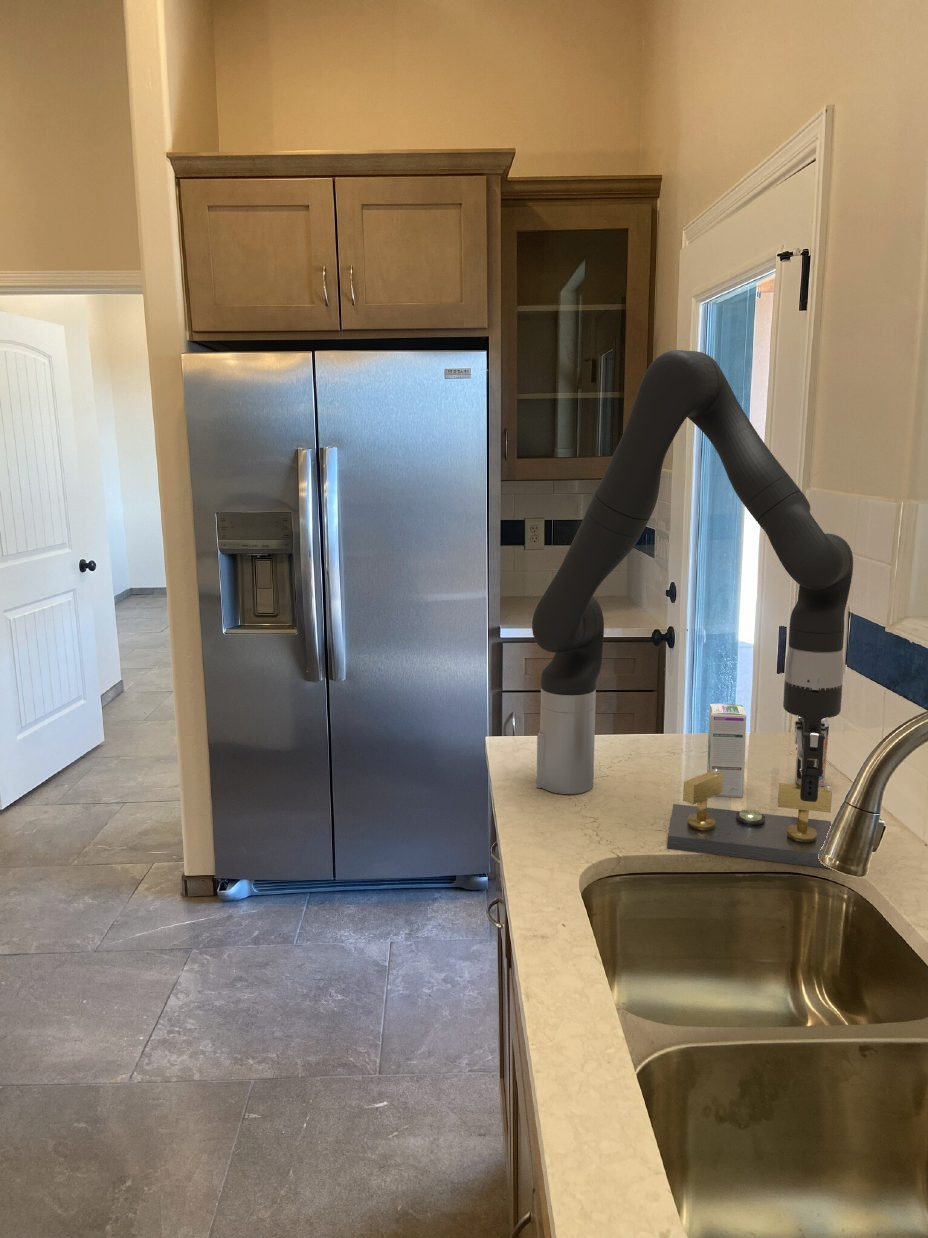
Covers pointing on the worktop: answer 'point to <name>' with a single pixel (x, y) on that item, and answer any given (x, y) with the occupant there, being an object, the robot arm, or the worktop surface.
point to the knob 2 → (803, 809)
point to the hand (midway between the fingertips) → (806, 789)
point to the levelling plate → (746, 836)
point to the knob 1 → (702, 797)
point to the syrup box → (727, 746)
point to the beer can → (821, 779)
